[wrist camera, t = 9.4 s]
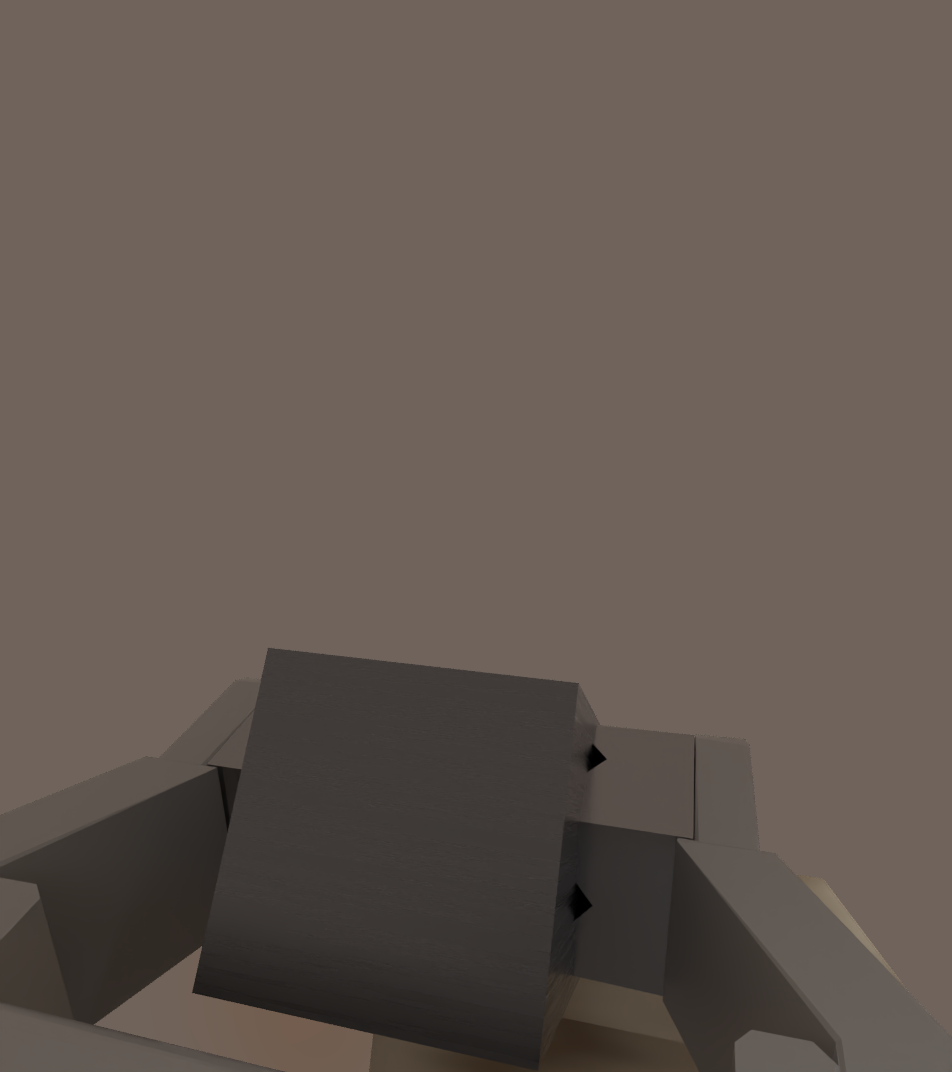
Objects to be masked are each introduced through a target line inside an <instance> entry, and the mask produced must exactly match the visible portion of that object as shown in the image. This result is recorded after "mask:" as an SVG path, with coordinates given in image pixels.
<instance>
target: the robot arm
mask: <svg viewBox="0 0 952 1072" xmlns="http://www.w3.org/2000/svg"><path fill="white" fill-rule="evenodd" d="M260 683H261V680H259V679H251V678H244V679H239V680H236V681H235V682H233V684H232V685H230V687H228V689H227V690H226V691H225V692H224V693H223V694H222V695H221V696H220V697H219V698H218V699H217V700H216V701H215V702H214V703H213V704H212V705H211V706H210V707H209V708H208V709H207V710H206V711H205V712H204V713H203V714H202V715H201V716H200V717H199V718H198V719H197V720H196V721H195V722H194V723H193V724H192V725H191V726H190V727H189V728H188V729H187V730H186V731H185V732H184V733H183V734H182V735H181V737H179V738H178V739H177V740H176V741H175V742H174V743H173V744H172V745H171V746H170V747H169V748H168V749H167V751H165V752H164V753H163V754H162V756H160V758H153V757H143V758H141V759H139V760H136V761H134V762H131V763H128V764H126V765H123V766H121V767H118V768H116V769H114V770H111V771H109V772H106V773H104V774H101V775H99V776H96V777H94V778H91V779H89V780H87V781H84V782H81V783H79V784H76V785H74V786H71V787H69V788H66V789H64V790H61V791H59V792H56V793H54V794H52V795H49V796H46V797H44V798H41V799H39V800H37V801H34V802H32V803H29V804H27V805H24V806H22V807H19V808H17V809H14V810H12V811H9V812H7V813H4V814H2V815H0V1072H283V1071H280V1070H276V1069H271V1068H267V1067H263V1066H259V1065H255V1064H251V1063H247V1062H243V1061H239V1060H234V1059H231V1058H226V1057H222V1056H218V1055H214V1054H210V1053H206V1052H202V1051H198V1050H194V1049H190V1048H186V1047H181V1046H178V1045H173V1044H169V1043H165V1042H161V1041H157V1040H153V1039H149V1038H145V1037H140V1036H136V1035H132V1034H128V1033H124V1032H120V1031H116V1030H112V1029H108V1028H104V1027H100V1026H96V1025H94V1024H95V1023H97V1022H98V1021H99V1020H101V1019H102V1018H103V1017H105V1016H106V1015H107V1014H109V1013H110V1012H112V1011H113V1010H114V1009H116V1008H117V1007H118V1006H120V1005H121V1004H123V1003H124V1002H125V1001H127V1000H128V999H129V998H131V997H132V996H134V995H135V994H136V993H138V992H139V991H141V990H142V989H143V988H145V987H146V986H148V985H149V984H150V983H152V982H153V981H154V980H156V979H157V978H159V977H160V976H161V975H163V974H164V973H165V972H167V971H168V970H170V969H171V968H172V967H174V966H175V965H176V964H178V963H179V962H180V961H182V960H183V959H185V958H186V957H187V956H189V955H190V954H192V953H193V952H194V951H196V950H197V949H198V948H200V947H201V946H203V942H204V937H205V933H206V928H207V923H208V919H209V914H210V910H211V905H212V901H213V896H214V892H215V887H216V883H217V878H218V873H219V869H220V864H221V860H222V855H223V851H224V846H225V842H226V837H227V833H228V828H229V824H230V819H231V814H232V810H233V805H234V801H235V796H236V792H237V787H238V783H239V778H240V774H241V769H242V764H243V760H244V755H245V751H246V746H247V742H248V737H249V733H250V728H251V724H252V719H253V715H254V710H255V705H256V701H257V696H258V692H259V687H260ZM576 884H577V885H578V886H579V888H580V891H579V897H578V903H577V909H576V914H575V920H574V947H573V976H576V977H580V978H585V979H589V980H594V981H598V982H603V983H607V984H611V985H616V986H620V987H625V988H629V989H633V990H638V991H642V992H647V993H651V994H655V995H660V996H663V1003H664V1005H665V1006H666V1008H667V1010H668V1012H669V1014H670V1016H671V1018H672V1020H673V1022H674V1024H675V1026H676V1028H677V1030H678V1032H679V1034H680V1035H681V1037H682V1039H683V1041H684V1043H685V1045H686V1047H687V1049H688V1051H689V1053H690V1055H691V1057H692V1059H693V1061H694V1063H695V1064H696V1066H697V1068H698V1070H699V1072H952V1036H951V1035H950V1034H949V1033H948V1032H947V1031H946V1030H945V1029H944V1028H943V1027H942V1026H941V1025H940V1024H939V1023H938V1022H937V1021H936V1020H935V1019H934V1018H933V1017H932V1016H931V1015H930V1013H929V1012H928V1011H927V1010H926V1009H925V1008H924V1007H923V1006H922V1005H921V1004H920V1003H919V1002H918V1001H917V1000H916V999H915V998H914V997H913V996H912V995H911V994H910V993H909V992H908V991H907V989H906V988H905V987H904V986H903V985H902V984H901V983H900V982H899V981H898V980H897V979H896V978H895V977H894V976H893V975H892V974H891V973H890V972H889V971H888V970H887V969H886V968H885V966H884V965H883V964H882V963H881V962H880V961H879V960H878V959H877V958H876V957H875V956H874V955H873V954H872V953H871V952H870V951H869V950H868V949H867V948H866V947H865V946H864V945H863V944H862V942H861V941H860V940H859V939H858V938H857V937H856V936H855V935H854V934H853V933H852V932H851V931H850V930H849V929H848V928H847V927H846V926H845V925H844V924H843V923H842V922H841V921H840V920H839V918H838V917H837V916H836V915H835V914H834V913H833V912H832V911H831V910H830V909H829V908H828V907H827V906H826V905H825V904H824V903H823V902H822V901H821V900H820V899H819V898H818V897H817V895H816V894H815V893H814V892H813V891H812V890H811V889H810V888H809V887H808V886H807V885H806V884H805V883H804V882H803V881H802V880H801V879H800V878H799V877H798V876H797V875H796V874H795V873H794V871H792V869H790V867H789V866H788V865H787V864H786V863H785V862H784V861H783V860H782V859H781V858H780V857H779V856H778V855H777V854H775V853H770V852H763V851H760V846H759V837H758V826H757V816H756V807H755V797H754V787H753V776H752V767H751V757H750V748H749V744H748V742H747V741H746V740H745V739H738V738H727V737H715V736H705V735H695V738H694V735H686V734H677V733H668V732H659V731H649V730H639V729H631V728H621V727H612V726H602V725H596V729H595V735H594V740H593V749H592V769H591V770H590V771H588V772H587V776H586V781H585V786H584V791H583V797H582V802H581V807H580V812H579V817H578V829H577V858H576Z"/></svg>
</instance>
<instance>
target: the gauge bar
mask: <svg viewBox="0 0 952 1072" xmlns="http://www.w3.org/2000/svg"><path fill="white" fill-rule="evenodd" d="M596 725H600V724H599V722H598V720H597V718H596V716H595V714H594V712H593V710H592V708H591V706H590V704H589V703H588V700H587V699H586V697H585V695H584V693H583V691H582V689H581V688H580V685H579V683H571V682H562V681H554V680H545V679H536V678H527V677H519V676H510V675H501V674H492V673H483V672H475V671H466V670H456V669H449V668H440V667H431V666H422V665H413V664H404V663H396V662H386V661H377V660H369V659H361V658H352V657H343V656H333V655H325V654H316V653H308V652H299V651H290V650H282V649H272V648H268V651H267V655H266V660H265V665H264V670H263V674H262V678H261V683H260V687H259V692H258V696H257V701H256V705H255V710H254V715H253V719H252V724H251V728H250V733H249V737H248V742H247V746H246V751H245V755H244V760H243V764H242V769H241V774H240V778H239V783H238V787H237V792H236V796H235V801H234V805H233V810H232V814H231V819H230V824H229V828H228V833H227V837H226V842H225V846H224V851H223V855H222V860H221V864H220V869H219V873H218V878H217V883H216V887H215V892H214V896H213V901H212V905H211V910H210V914H209V919H208V923H207V928H206V933H205V937H204V942H203V946H202V951H201V955H200V960H199V964H198V969H197V973H196V978H195V983H194V987H193V992H192V993H195V994H200V995H205V996H209V997H213V998H218V999H222V1000H226V1001H231V1002H236V1003H240V1004H244V1005H249V1006H253V1007H257V1008H262V1009H266V1010H271V1011H275V1012H280V1013H284V1014H288V1015H293V1016H297V1017H302V1018H306V1019H310V1020H315V1021H319V1022H324V1023H328V1024H333V1025H337V1026H341V1027H346V1028H350V1029H355V1030H359V1031H364V1032H368V1033H372V1034H377V1035H381V1036H386V1037H390V1038H395V1039H399V1040H403V1041H408V1042H412V1043H417V1044H421V1045H426V1046H430V1047H434V1048H439V1049H443V1050H448V1051H452V1052H456V1053H461V1054H465V1055H470V1056H474V1057H479V1058H483V1059H487V1060H492V1061H496V1062H501V1063H505V1064H510V1065H514V1066H518V1067H523V1068H527V1069H532V1070H536V1071H538V1070H539V1068H540V1066H541V1063H542V1061H543V1059H544V1057H545V1054H546V1052H547V1050H548V1048H549V1046H550V1043H551V1041H552V1039H553V1037H554V1034H555V1032H556V1030H557V1028H558V1026H559V1023H560V1021H561V1019H562V1017H563V1014H564V1012H565V1010H566V1008H567V1005H568V1003H569V1001H570V999H571V997H572V994H573V992H574V990H575V988H576V985H577V983H578V981H579V979H580V977H576V976H573V947H574V920H575V914H576V909H577V903H578V897H579V891H580V888H579V886H578V885H577V884H576V858H577V829H578V817H579V812H580V807H581V802H582V797H583V791H584V786H585V781H586V776H587V772H588V771H590V770H591V769H592V749H593V740H594V735H595V729H596Z"/></svg>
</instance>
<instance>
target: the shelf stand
mask: <svg viewBox="0 0 952 1072" xmlns="http://www.w3.org/2000/svg"><path fill="white" fill-rule="evenodd" d="M797 876H798V877H799V878H800V879H801V880H802V881H803V882H804V883H805V884H806V885H807V886H808V887H809V888H810V889H811V890H812V891H813V892H814V893H815V894H816V895H817V897H818V898H819V899H820V900H821V901H822V902H823V903H824V904H825V905H826V906H827V907H828V908H829V909H830V910H831V911H832V912H833V913H834V914H835V915H836V916H837V917H838V918H839V920H840V921H841V922H842V923H843V924H844V925H845V926H846V927H847V928H848V929H849V930H850V931H851V932H852V933H853V934H854V935H855V936H856V937H857V938H858V939H859V940H860V941H861V942H862V944H863V945H864V946H865V947H866V948H867V949H868V950H869V951H870V952H871V953H872V954H873V955H874V956H875V957H876V958H877V959H878V960H879V961H880V962H881V963H882V964H883V965H884V966H885V968H886V969H887V970H888V971H889V972H890V973H891V974H892V975H893V976H894V977H895V978H896V979H897V980H898V981H899V982H900V983H901V984H902V982H901V981H900V980H899V979H898V977H897V976H896V975H895V973H894V972H893V970H892V969H891V968H890V967H889V965H888V964H887V963H886V961H885V960H884V959H883V957H882V956H881V955H880V953H879V952H878V951H877V949H876V948H875V947H874V945H873V944H872V943H871V941H870V940H869V939H868V938H867V936H866V935H865V933H864V932H863V931H862V929H861V928H860V927H859V926H858V924H857V923H856V922H855V920H854V919H853V918H852V916H851V915H850V914H849V912H848V911H847V910H846V908H845V907H844V906H843V904H842V903H841V902H840V900H839V899H838V898H837V896H836V895H835V894H834V892H833V891H832V890H831V888H830V887H829V886H828V884H827V883H826V882H825V881H824V879H821V878H814V877H807V876H801V875H797ZM902 985H903V984H902ZM903 986H904V985H903ZM904 987H905V986H904ZM907 991H908V990H907ZM369 1072H699V1070H698V1068H697V1066H696V1064H695V1063H694V1061H693V1059H692V1057H691V1055H690V1053H689V1051H688V1049H687V1047H686V1045H685V1043H684V1041H683V1039H682V1037H681V1035H680V1034H679V1032H678V1030H677V1028H676V1026H675V1024H674V1022H673V1020H672V1018H671V1016H670V1014H669V1012H668V1010H667V1008H666V1006H665V1005H664V1003H663V996H660V995H655V994H651V993H647V992H642V991H638V990H633V989H629V988H625V987H620V986H616V985H611V984H607V983H603V982H598V981H594V980H589V979H585V978H580V979H579V981H578V983H577V985H576V988H575V990H574V992H573V994H572V997H571V999H570V1001H569V1003H568V1005H567V1008H566V1010H565V1012H564V1014H563V1017H562V1019H561V1021H560V1023H559V1026H558V1028H557V1030H556V1032H555V1034H554V1037H553V1039H552V1041H551V1043H550V1046H549V1048H548V1050H547V1052H546V1054H545V1057H544V1059H543V1061H542V1063H541V1066H540V1068H539V1070H538V1071H536V1070H532V1069H527V1068H523V1067H518V1066H514V1065H510V1064H505V1063H501V1062H496V1061H492V1060H487V1059H483V1058H479V1057H474V1056H470V1055H465V1054H461V1053H456V1052H452V1051H448V1050H443V1049H439V1048H434V1047H430V1046H426V1045H421V1044H417V1043H412V1042H408V1041H403V1040H399V1039H395V1038H390V1037H386V1036H381V1035H377V1034H373V1041H372V1050H371V1059H370V1068H369Z"/></svg>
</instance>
